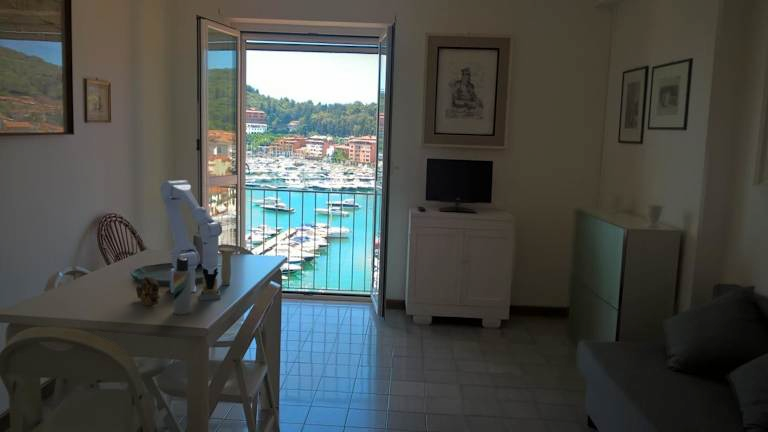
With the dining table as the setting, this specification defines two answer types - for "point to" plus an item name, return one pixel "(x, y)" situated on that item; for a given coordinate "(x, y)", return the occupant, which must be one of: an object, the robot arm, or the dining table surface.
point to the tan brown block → (209, 291)
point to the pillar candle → (198, 246)
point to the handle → (226, 265)
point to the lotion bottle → (182, 287)
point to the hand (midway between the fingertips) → (210, 287)
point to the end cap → (209, 296)
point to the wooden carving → (148, 291)
